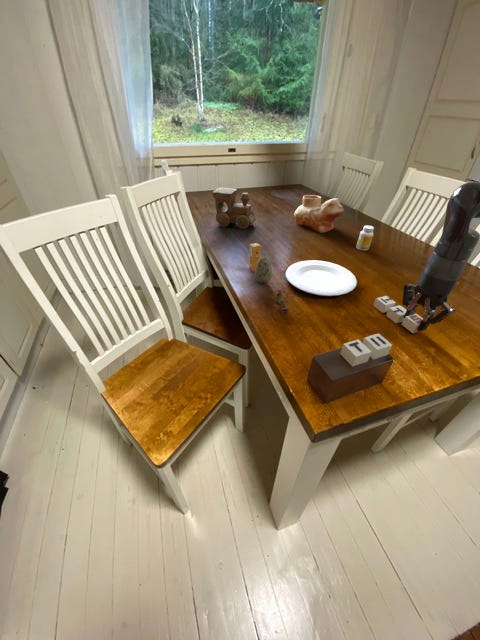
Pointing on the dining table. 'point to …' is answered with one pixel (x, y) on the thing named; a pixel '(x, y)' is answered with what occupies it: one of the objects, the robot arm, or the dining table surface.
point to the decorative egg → (263, 270)
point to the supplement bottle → (365, 238)
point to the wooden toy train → (232, 208)
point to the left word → (365, 349)
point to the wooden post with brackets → (281, 300)
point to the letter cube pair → (390, 309)
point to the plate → (321, 278)
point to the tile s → (412, 322)
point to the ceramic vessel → (318, 213)
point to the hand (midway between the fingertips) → (413, 325)
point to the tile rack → (344, 374)
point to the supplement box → (254, 255)
